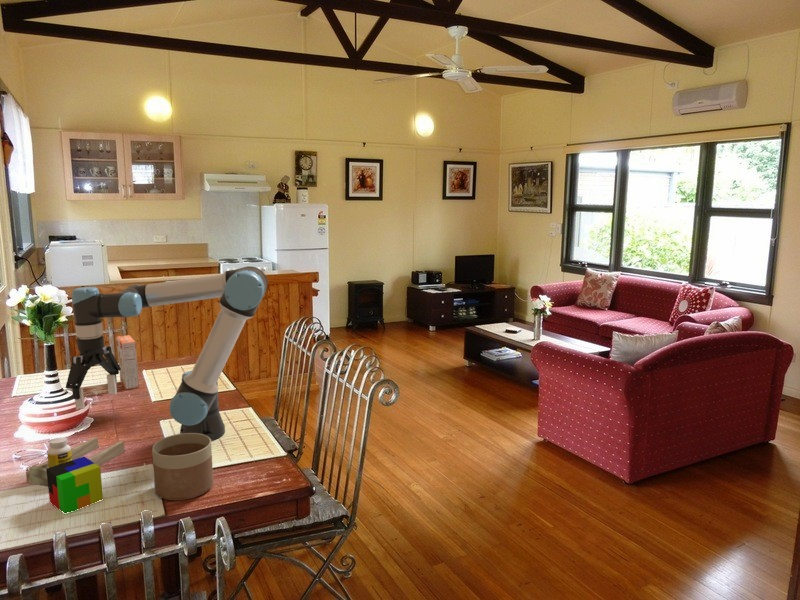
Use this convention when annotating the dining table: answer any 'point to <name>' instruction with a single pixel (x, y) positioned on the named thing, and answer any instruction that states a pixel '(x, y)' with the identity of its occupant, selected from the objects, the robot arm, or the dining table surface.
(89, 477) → the puzzle toy
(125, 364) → the cracker box
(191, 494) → the planter
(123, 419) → the dining table surface
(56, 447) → the pill bottle
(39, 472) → the guide channel
